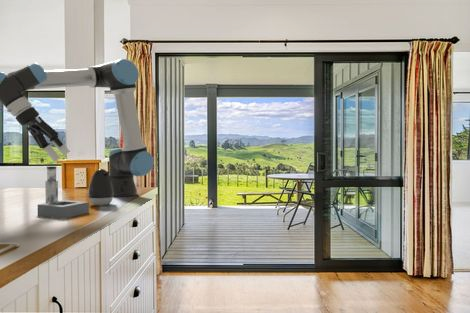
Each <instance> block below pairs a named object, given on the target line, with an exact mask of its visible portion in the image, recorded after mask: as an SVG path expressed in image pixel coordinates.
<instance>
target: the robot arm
mask: <svg viewBox="0 0 470 313" xmlns="http://www.w3.org/2000/svg"><path fill="white" fill-rule="evenodd" d="M139 74H140V73H139V69H138V67H137V65H136V64H135V63H134V62H133V61H131V60H129V59H127V58H120V59H115V60H113V61H109V62H105V63H103V64H98V65H94V66H87V67H86V68H77V69H73V68H72V69H54V70H53V69H52V70H51V69H50V70H49V69H48V70H47V69H46V70H45V69H44V68H43V67H42V66H41V65H40V64H39V63H37V62H33V63H31V64H28V65H27V66H24V67H23V68H20V69H18V70H15V71H11V72H9V73H7V74H6V73H5V72H3V71H1V72H0V103H1V104H2V105H3V106H4V107H5V108H6V109H7V111H6V112H7V113H10V114H11V115H12V116H13V117H15V120H16V121H17V123H19V125H20V126H22V127H23V126H25V125H27V127H26V130H27V131H28V132H29V133H30V136H31V137H32V138H33V139H34V141H35V143H36V144H37V146H38V147H39V149H43V150H44V151H45V152H46V154H47V155H48V156H49V157H50V158H51V160H53V162H57V161H58V160H60V158H61V156H60V154H59V153H58V152H57V151H56V150H55V149H54V147H56V148H57V150H58V151H59V152H60V153H61V154H62V156H64V157H65V155H67V154H68V153H69V152H71V150H70V149H69V148H68V147H67V146H66V145H65V143H64V142H63V140H61V139H60V137H59V133H58V132H57V131H56V130H55V129H54V128H53V127H52V126H50V125H49V124H48V123H47V122H46V121H45V120H44V119H43V118H42V116H39V115H40V113H39V112H38V110H36V108H35V107H34V106H32V103H31V102H30V101H29V100H28V98H26V96H25V95H24V93H25V92H27V91H30V90H41V89H42V90H43V89H57V88H71V87H73V88H74V87H85V86H88V87H89V88H109V90H110V92H111V93H112V94H113V95H114V99H115V104H116V108H117V109H116V110H117V115H118V120H119V126H120V132H121V136H122V142H123V147H121V148H113V149H111V150H110V151H109V153H108V160H109V162H108V166H109V167H108V171H109V176H110V179H111V182H112V186H113V191H114V196H113V198H114V197H115V198H116V197H120V198H121V197H132V196H136V195H138V190H137V187H136V183H135V179H134V177H143V176H147V175H148V174H149V173H151V171H152V170H153V167H154V163H155V161H154V160H155V159H154V157H153V155H152V154H151V153H150V152H149V151H148V147H147V146H148V145H146V144H145V143H144V142H143V138H142V134H141V133H142V132H141V127H140V121H139V120H140V119H139V115H138V109H137V102H136V98H135V92H136V90H137V84H136V83H137V82H138V79H139V78H140V77H139V76H140V75H139ZM45 137H47V138H48V139H49V141H50V142H47V141H48V140H46V138H45ZM51 143H52V144H53V145H54V147H52V145H51Z"/></svg>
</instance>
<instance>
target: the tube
mask: <svg viewBox="0 0 470 313" xmlns="http://www.w3.org/2000/svg"><path fill="white" fill-rule="evenodd" d="M44 187H45V203H50V202H56V201H59V181H58V180H57V166H52V165H51V166H46V180H45V186H44Z"/></svg>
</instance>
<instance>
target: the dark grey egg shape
mask: <svg viewBox="0 0 470 313" xmlns="http://www.w3.org/2000/svg"><path fill="white" fill-rule="evenodd" d="M87 198H88V199H89V203H90V204H91V205H93V206H97V207H103V206H107V205H109V204H111V203H112V201H113V199H114V191H113V186H112V182H111V179H110V176H109V170H106V169H104V168H99V169H96V170H95V172H93V174H92V177H91V178H90V182H89V186H88V191H87Z"/></svg>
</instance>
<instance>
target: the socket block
mask: <svg viewBox="0 0 470 313" xmlns="http://www.w3.org/2000/svg"><path fill="white" fill-rule="evenodd" d="M89 212H90V201H80V200H68V199H63V200H58V201H56V202H50V203H46V202H44V203H39V204H37V216H38V217H47V218H54V219H55V218H56V219H68V218H71V217H77V216H80V215H81V216H82V215H84V214H89Z"/></svg>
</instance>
